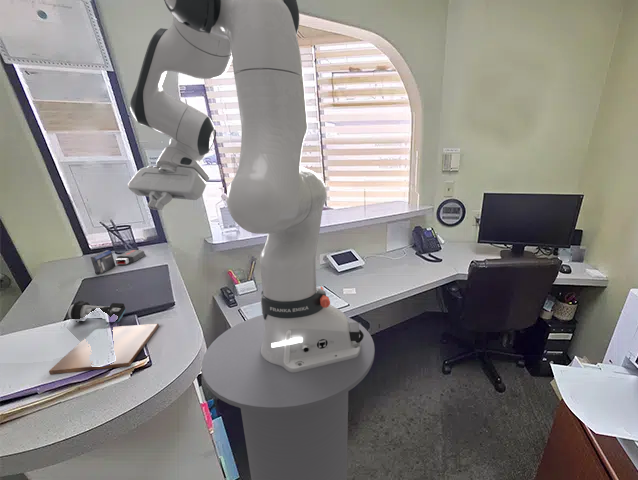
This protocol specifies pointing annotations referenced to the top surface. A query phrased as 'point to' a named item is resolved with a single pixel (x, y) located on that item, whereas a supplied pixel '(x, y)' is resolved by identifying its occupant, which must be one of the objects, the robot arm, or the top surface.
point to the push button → (85, 308)
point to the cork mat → (125, 348)
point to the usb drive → (129, 256)
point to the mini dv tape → (103, 261)
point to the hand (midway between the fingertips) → (154, 208)
